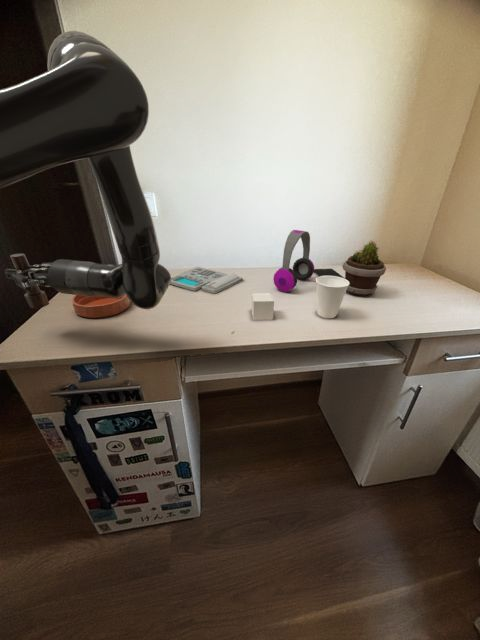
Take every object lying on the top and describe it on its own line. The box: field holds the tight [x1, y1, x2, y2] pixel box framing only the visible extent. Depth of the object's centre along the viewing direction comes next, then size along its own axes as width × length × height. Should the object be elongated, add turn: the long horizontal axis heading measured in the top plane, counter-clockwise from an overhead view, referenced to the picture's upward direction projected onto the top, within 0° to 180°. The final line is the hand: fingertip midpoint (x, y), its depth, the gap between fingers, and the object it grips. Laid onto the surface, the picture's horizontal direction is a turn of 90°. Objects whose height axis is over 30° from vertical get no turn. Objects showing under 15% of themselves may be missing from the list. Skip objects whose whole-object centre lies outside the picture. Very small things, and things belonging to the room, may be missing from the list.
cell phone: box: [313, 268, 345, 279], centre depth 119 cm, size 9×18×1 cm, turn 12°
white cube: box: [251, 292, 275, 321], centre depth 86 cm, size 6×6×6 cm
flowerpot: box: [341, 239, 387, 298], centre depth 101 cm, size 14×15×20 cm
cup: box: [315, 276, 350, 319], centre depth 86 cm, size 10×10×11 cm
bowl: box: [70, 295, 131, 319], centre depth 86 cm, size 15×15×4 cm
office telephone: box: [170, 266, 243, 294], centre depth 109 cm, size 23×3×20 cm
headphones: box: [272, 229, 315, 293], centre depth 105 cm, size 21×9×20 cm, turn 148°
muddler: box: [9, 253, 50, 309], centre depth 66 cm, size 4×4×12 cm
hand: (14, 271), depth 65 cm, fingers closed on muddler, 2 cm apart
